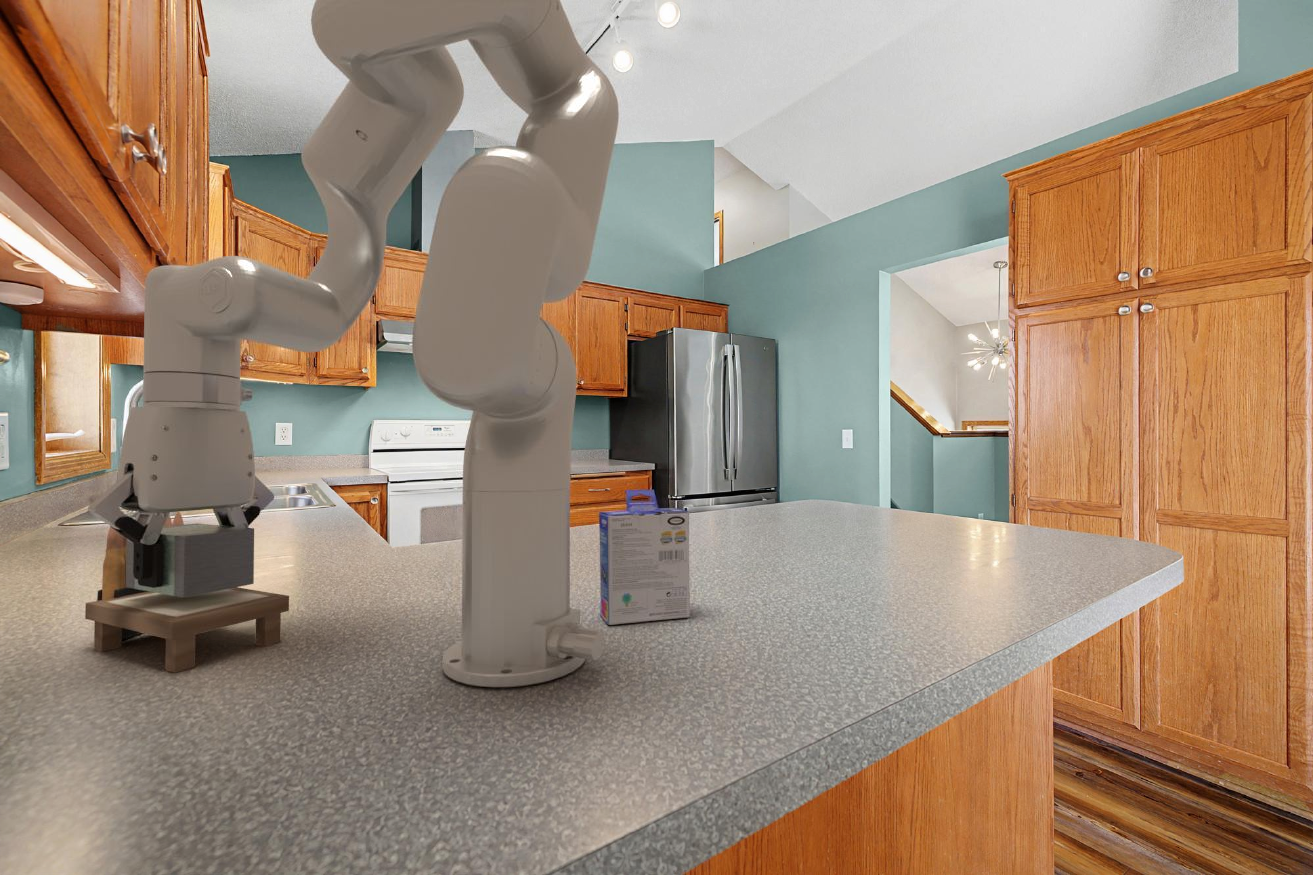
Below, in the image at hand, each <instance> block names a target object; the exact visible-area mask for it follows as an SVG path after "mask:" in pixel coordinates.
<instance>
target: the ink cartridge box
mask: <svg viewBox="0 0 1313 875" xmlns="http://www.w3.org/2000/svg"><path fill="white" fill-rule="evenodd" d="M624 492H625V503H626V509H625V510H609V511H605V510H604V511H599V512H598V521H599V522H598V523H599V530H598V531H599V569H600V570H599V571H600V572H599V574H600V575H599V577H600V579H599V580H600V583H599V584H600V590H599V592H600V594H599V595H600V598H599V599H600V606H599V607H600V608H599V609H600V612H599V614H600V616H601V618H602V620H604V621H605V623H606V625H608V626H609V625H610V626H613V625H614V626H615V625H622V624H632V623H634V624H635V623H644V622H650V621H663V620H673V619H674V620H675V619H682V618H683V619H685V618H689V617H690V616H691V610H690V609H691V604H690V603H691V597H690V596H691V592H690V589H691V588H690V512H689V511H688V510H684V509H680V508H677V507H666V508H659V505H658V502H657V497H656V494H655V489H626V490H625V491H624ZM637 496H645V497H649V498H650V500H648V501H647V500H639V501H636V500H635V501H633V500H632V498H634V497H637Z"/></svg>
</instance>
